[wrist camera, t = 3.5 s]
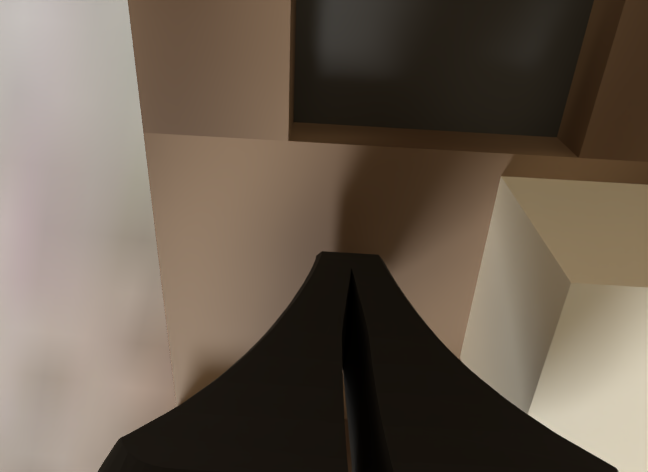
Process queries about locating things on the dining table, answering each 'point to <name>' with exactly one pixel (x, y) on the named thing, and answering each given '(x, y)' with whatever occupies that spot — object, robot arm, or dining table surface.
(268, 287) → the trap box
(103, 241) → the dining table surface
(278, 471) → the robot arm
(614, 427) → the cream block
